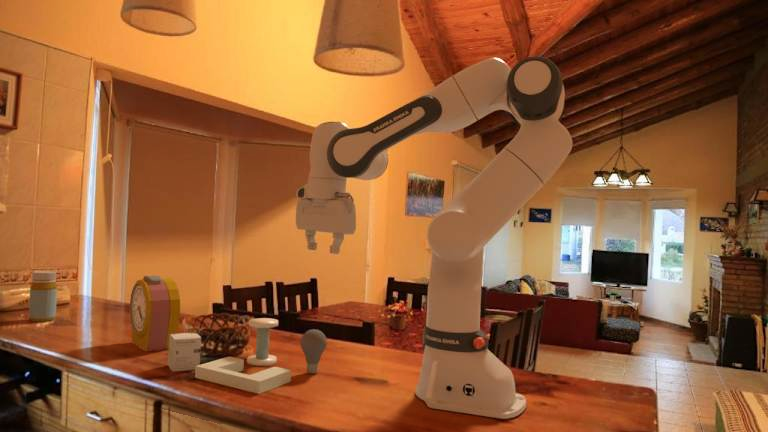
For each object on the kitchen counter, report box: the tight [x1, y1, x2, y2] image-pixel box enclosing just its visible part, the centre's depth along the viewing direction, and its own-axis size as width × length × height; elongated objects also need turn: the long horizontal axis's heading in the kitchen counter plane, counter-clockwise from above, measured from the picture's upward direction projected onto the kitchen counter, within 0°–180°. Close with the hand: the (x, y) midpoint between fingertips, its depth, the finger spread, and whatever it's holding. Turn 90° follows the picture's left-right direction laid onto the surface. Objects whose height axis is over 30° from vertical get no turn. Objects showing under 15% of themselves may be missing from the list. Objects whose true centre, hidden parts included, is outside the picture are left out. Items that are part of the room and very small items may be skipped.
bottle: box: [28, 270, 58, 323], centre depth 164 cm, size 7×7×15 cm
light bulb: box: [300, 328, 328, 374], centre depth 123 cm, size 6×6×10 cm
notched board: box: [194, 356, 292, 395], centre depth 115 cm, size 18×10×2 cm, turn 62°
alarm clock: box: [129, 275, 181, 352], centre depth 141 cm, size 15×8×18 cm, turn 42°
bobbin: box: [246, 317, 279, 367], centre depth 130 cm, size 7×7×10 cm
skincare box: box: [167, 332, 202, 373], centre depth 122 cm, size 6×6×7 cm
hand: (322, 251), depth 124 cm, fingers open, 8 cm apart
